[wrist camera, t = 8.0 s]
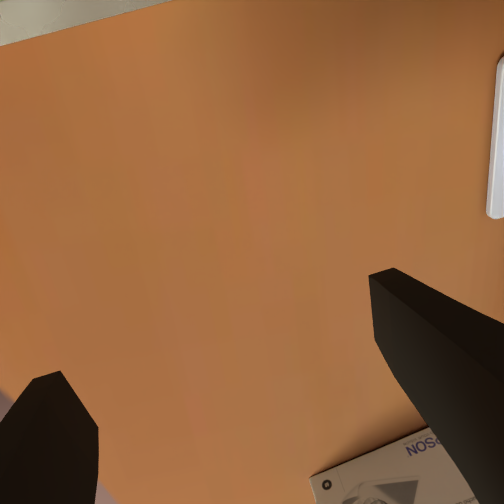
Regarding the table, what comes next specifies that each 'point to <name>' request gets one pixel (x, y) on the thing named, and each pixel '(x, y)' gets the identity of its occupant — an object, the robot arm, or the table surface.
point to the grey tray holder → (57, 15)
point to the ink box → (396, 476)
